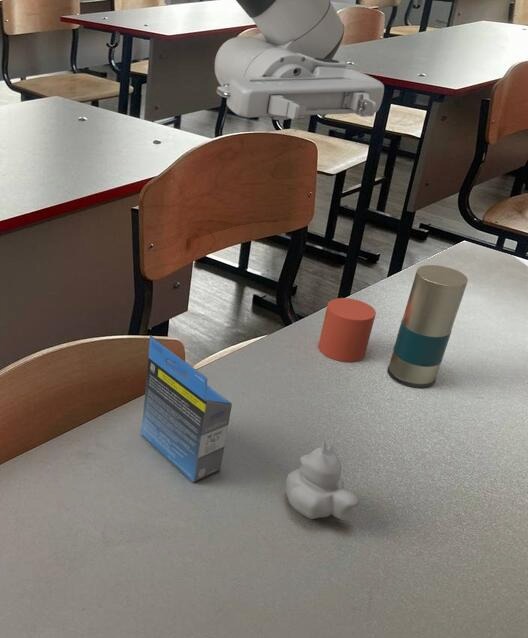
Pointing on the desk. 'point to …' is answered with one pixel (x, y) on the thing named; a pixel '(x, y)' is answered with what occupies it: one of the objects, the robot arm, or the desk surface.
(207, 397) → the tape cartridge
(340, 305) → the cap
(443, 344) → the spray can
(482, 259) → the desk surface
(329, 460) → the grey animal figurine
